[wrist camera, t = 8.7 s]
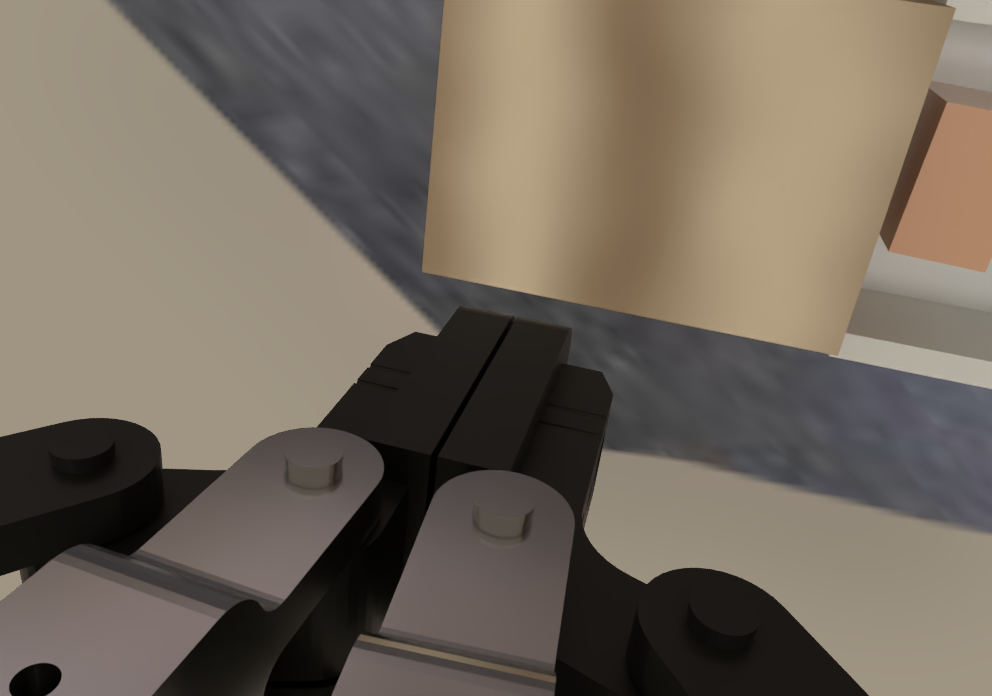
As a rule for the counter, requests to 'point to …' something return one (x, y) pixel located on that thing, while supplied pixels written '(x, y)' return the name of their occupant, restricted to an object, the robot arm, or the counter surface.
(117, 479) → the robot arm
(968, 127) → the terracotta tile
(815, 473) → the counter surface
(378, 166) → the counter surface
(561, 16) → the wooden block
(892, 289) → the tray
